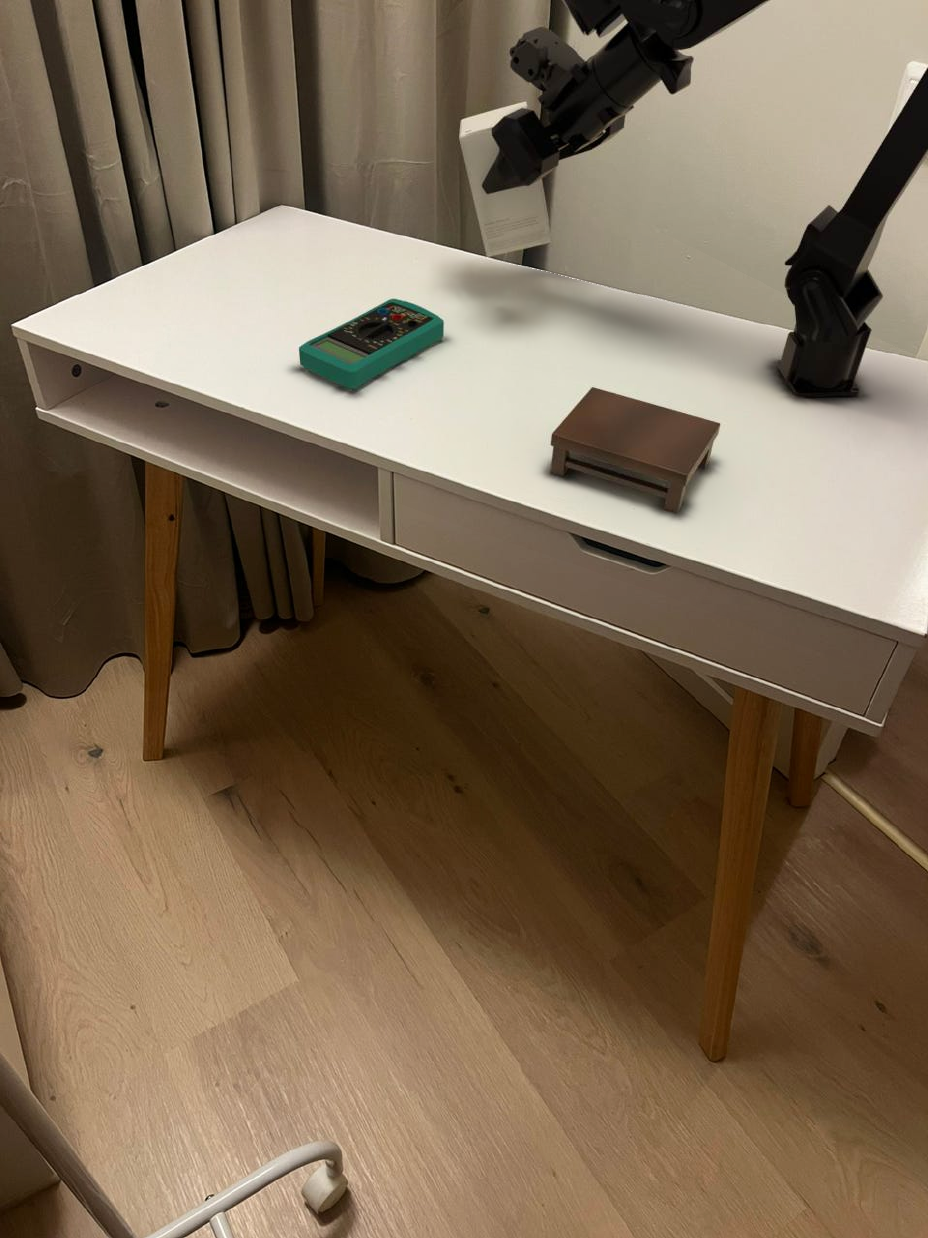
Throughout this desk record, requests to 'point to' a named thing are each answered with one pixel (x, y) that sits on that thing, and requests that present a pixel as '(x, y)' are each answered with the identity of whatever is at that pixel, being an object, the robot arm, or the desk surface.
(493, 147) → the white packaging box
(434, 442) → the desk surface
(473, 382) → the desk surface
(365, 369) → the digital multimeter
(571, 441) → the small table
